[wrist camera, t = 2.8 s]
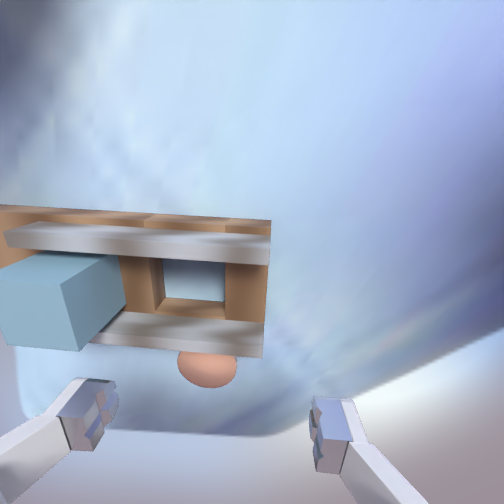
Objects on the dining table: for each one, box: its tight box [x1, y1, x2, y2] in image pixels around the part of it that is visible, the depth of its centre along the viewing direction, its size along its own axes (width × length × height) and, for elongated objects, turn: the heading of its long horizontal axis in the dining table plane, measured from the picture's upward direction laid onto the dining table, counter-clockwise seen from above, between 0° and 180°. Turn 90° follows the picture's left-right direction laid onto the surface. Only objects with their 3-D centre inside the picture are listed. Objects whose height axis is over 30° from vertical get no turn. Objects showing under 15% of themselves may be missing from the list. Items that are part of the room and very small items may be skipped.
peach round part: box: [178, 351, 237, 388], centre depth 23 cm, size 6×6×1 cm
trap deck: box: [0, 205, 271, 358], centre depth 18 cm, size 23×9×4 cm, turn 88°
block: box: [0, 250, 126, 352], centre depth 16 cm, size 4×4×5 cm
